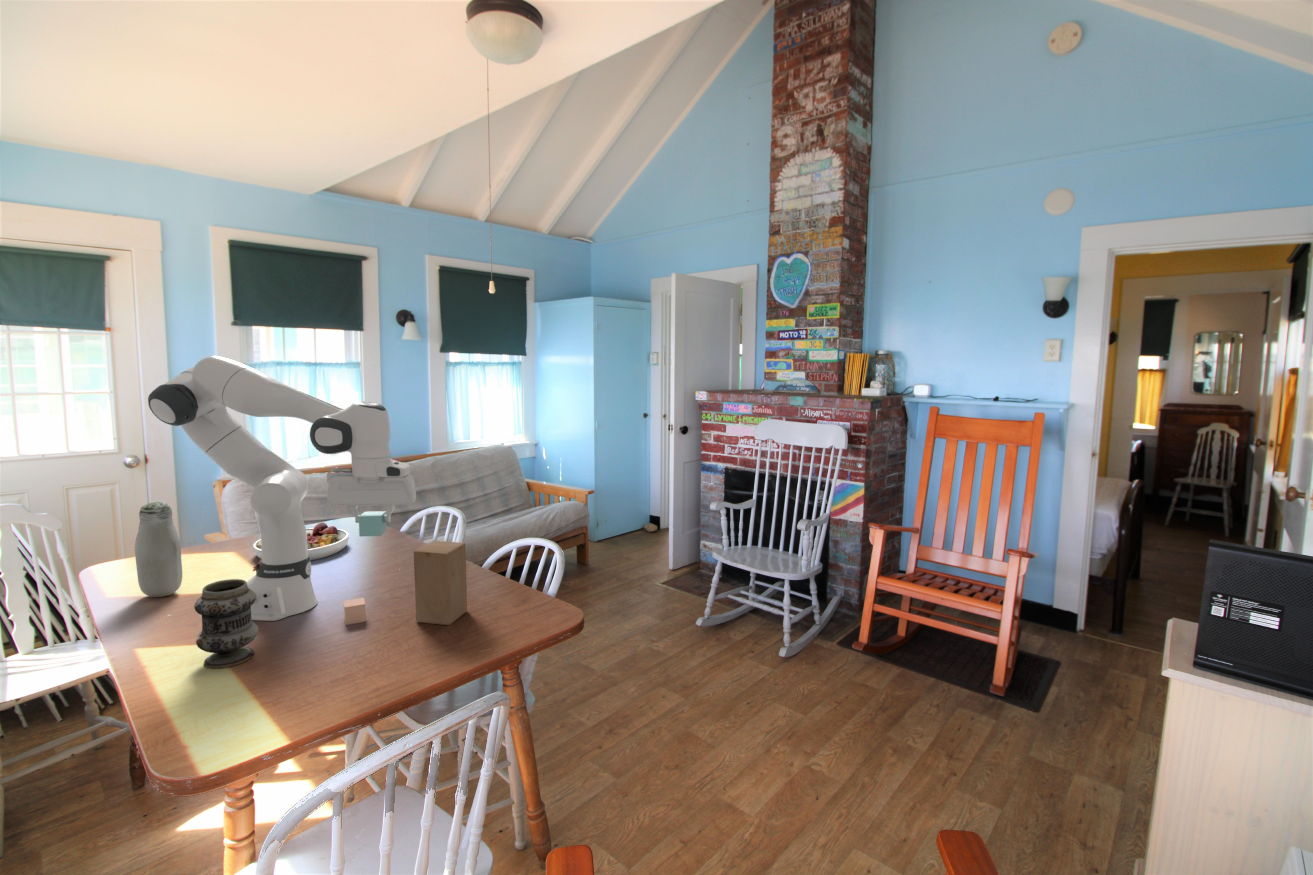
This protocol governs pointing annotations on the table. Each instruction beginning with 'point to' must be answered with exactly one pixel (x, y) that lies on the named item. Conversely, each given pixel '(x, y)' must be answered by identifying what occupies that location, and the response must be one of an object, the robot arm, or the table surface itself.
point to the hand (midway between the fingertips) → (373, 522)
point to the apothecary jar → (226, 622)
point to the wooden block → (440, 582)
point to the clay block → (354, 611)
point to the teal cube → (372, 523)
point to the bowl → (319, 541)
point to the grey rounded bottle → (158, 551)
